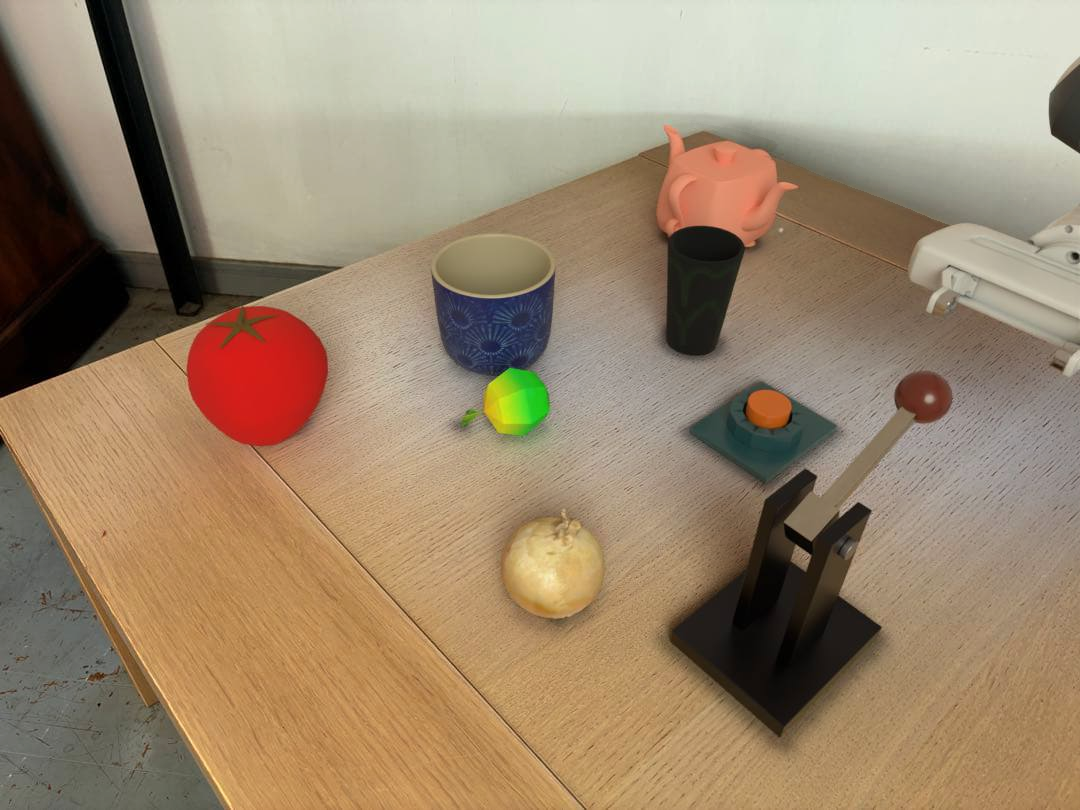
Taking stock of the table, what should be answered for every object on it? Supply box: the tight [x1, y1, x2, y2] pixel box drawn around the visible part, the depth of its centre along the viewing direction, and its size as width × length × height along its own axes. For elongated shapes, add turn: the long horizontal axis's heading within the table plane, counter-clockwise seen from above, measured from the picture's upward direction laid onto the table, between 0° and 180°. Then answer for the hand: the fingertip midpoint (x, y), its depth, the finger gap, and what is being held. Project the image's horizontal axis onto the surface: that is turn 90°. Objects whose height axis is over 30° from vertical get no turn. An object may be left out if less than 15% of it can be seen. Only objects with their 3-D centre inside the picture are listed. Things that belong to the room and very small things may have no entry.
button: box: [746, 390, 792, 429], centre depth 78 cm, size 4×4×2 cm
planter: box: [430, 232, 557, 376], centre depth 86 cm, size 12×12×11 cm
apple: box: [460, 368, 551, 437], centre depth 78 cm, size 7×6×9 cm
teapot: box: [655, 124, 799, 248], centre depth 104 cm, size 15×17×13 cm
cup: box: [665, 226, 746, 357], centre depth 87 cm, size 8×8×12 cm
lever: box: [783, 370, 954, 557], centre depth 55 cm, size 15×4×4 cm, turn 131°
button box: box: [689, 380, 838, 485], centre depth 79 cm, size 11×9×2 cm
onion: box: [500, 508, 606, 620], centre depth 63 cm, size 8×8×7 cm
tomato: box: [186, 304, 329, 447], centre depth 76 cm, size 12×12×13 cm
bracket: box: [669, 468, 883, 738], centre depth 57 cm, size 12×10×15 cm
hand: (996, 335), depth 61 cm, fingers open, 8 cm apart
